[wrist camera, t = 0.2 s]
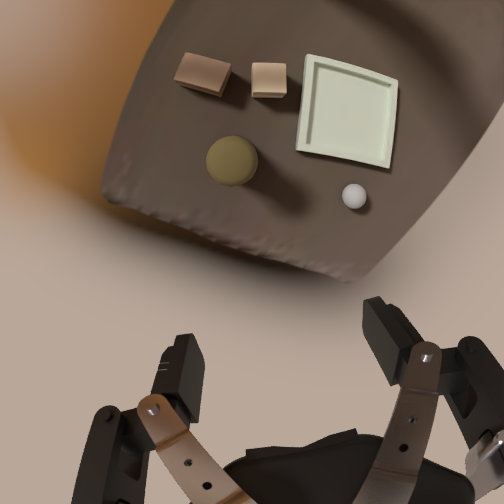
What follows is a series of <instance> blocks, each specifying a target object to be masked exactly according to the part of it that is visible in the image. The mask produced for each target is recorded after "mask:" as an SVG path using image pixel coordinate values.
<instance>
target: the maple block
mask: <svg viewBox="0 0 504 504" xmlns="http://www.w3.org/2000/svg"><path fill="white" fill-rule="evenodd" d="M251 75H252V98H282V97H283V96H284V95H285V94H286V93H287V88H286V64H280V63H253V64H252V71H251Z"/></svg>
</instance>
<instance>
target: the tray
mask: <svg viewBox="0 0 504 504" xmlns="http://www.w3.org/2000/svg"><path fill="white" fill-rule="evenodd" d="M397 90H398V80H395V79H392V78H390V77H387V76H384V75H382V74H379V73H376V72H373V71H370V70H367V69H364V68H361V67H358V66H354V65H351V64H347V63H344V62H340V61H336V60H333V59H329V58H324V57H320V56H316V55H311V54H307V55H306V56H305V62H304V73H303V83H302V93H301V102H300V111H299V120H298V129H297V137H296V145H295V150H299V151H306V152H312V153H318V154H324V155H329V156H334V157H340V158H345V159H349V160H354V161H359V162H363V163H368V164H372V165H376V166H380V167H385V168H389V166H390V160H391V153H392V145H393V137H394V128H395V118H396V106H397Z"/></svg>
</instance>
